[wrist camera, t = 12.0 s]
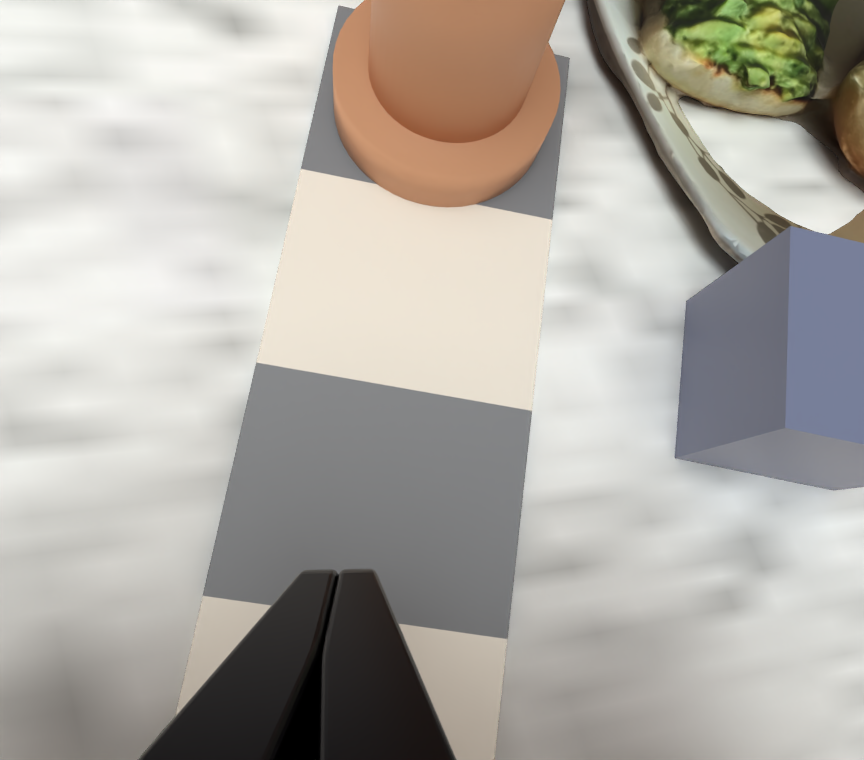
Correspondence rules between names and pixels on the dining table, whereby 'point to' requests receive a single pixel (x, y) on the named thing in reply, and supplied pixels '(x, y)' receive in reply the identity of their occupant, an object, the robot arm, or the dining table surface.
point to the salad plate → (740, 90)
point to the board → (392, 418)
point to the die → (779, 364)
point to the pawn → (446, 94)
